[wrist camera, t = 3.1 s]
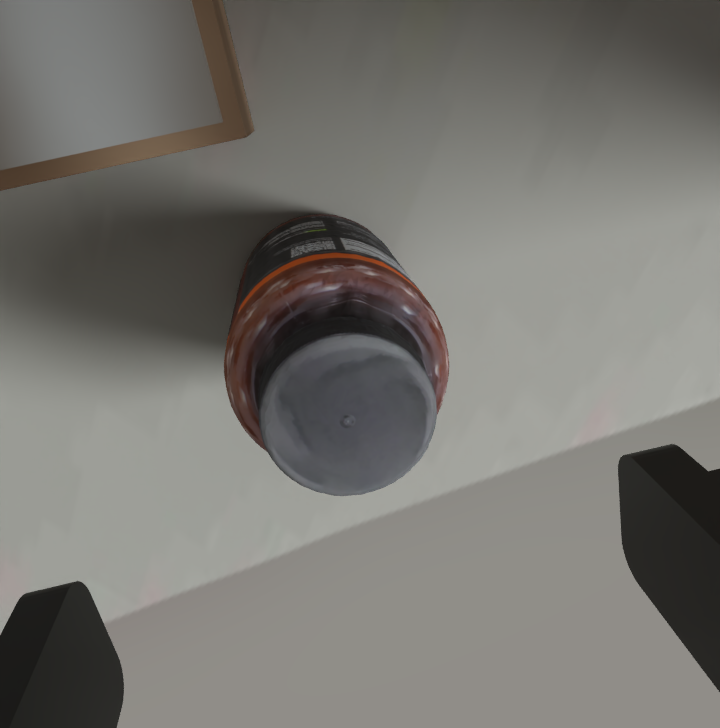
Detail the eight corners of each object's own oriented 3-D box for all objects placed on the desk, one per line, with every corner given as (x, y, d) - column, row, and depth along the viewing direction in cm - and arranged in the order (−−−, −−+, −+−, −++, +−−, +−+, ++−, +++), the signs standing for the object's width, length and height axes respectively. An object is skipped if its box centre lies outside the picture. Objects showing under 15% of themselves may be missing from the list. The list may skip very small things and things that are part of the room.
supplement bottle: (314, 393, 27) (333, 581, 16) (206, 285, 25) (147, 418, 14) (431, 295, 26) (531, 427, 15) (328, 174, 24) (361, 230, 13)
